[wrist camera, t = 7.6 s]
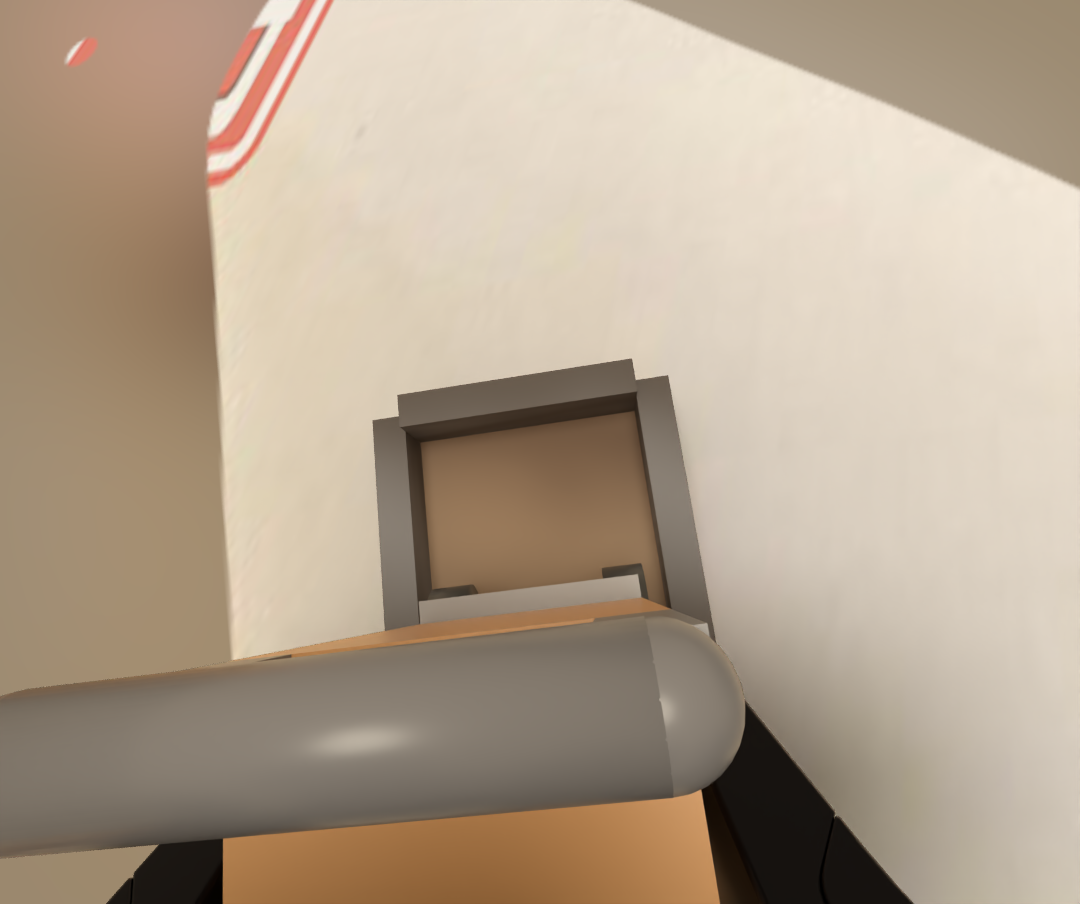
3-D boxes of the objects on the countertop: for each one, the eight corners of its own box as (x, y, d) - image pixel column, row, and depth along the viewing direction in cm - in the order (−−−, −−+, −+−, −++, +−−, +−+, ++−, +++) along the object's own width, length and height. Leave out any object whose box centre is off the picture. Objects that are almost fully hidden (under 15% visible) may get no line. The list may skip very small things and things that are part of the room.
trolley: (674, 791, 15) (1060, 2104, 2) (463, 811, 15) (-312, 1963, 2) (639, 564, 16) (736, 478, 3) (445, 588, 17) (-123, 596, 4)
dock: (760, 995, 17) (804, 1118, 13) (451, 1014, 18) (406, 1136, 14) (656, 395, 21) (666, 353, 17) (409, 432, 22) (365, 399, 18)
